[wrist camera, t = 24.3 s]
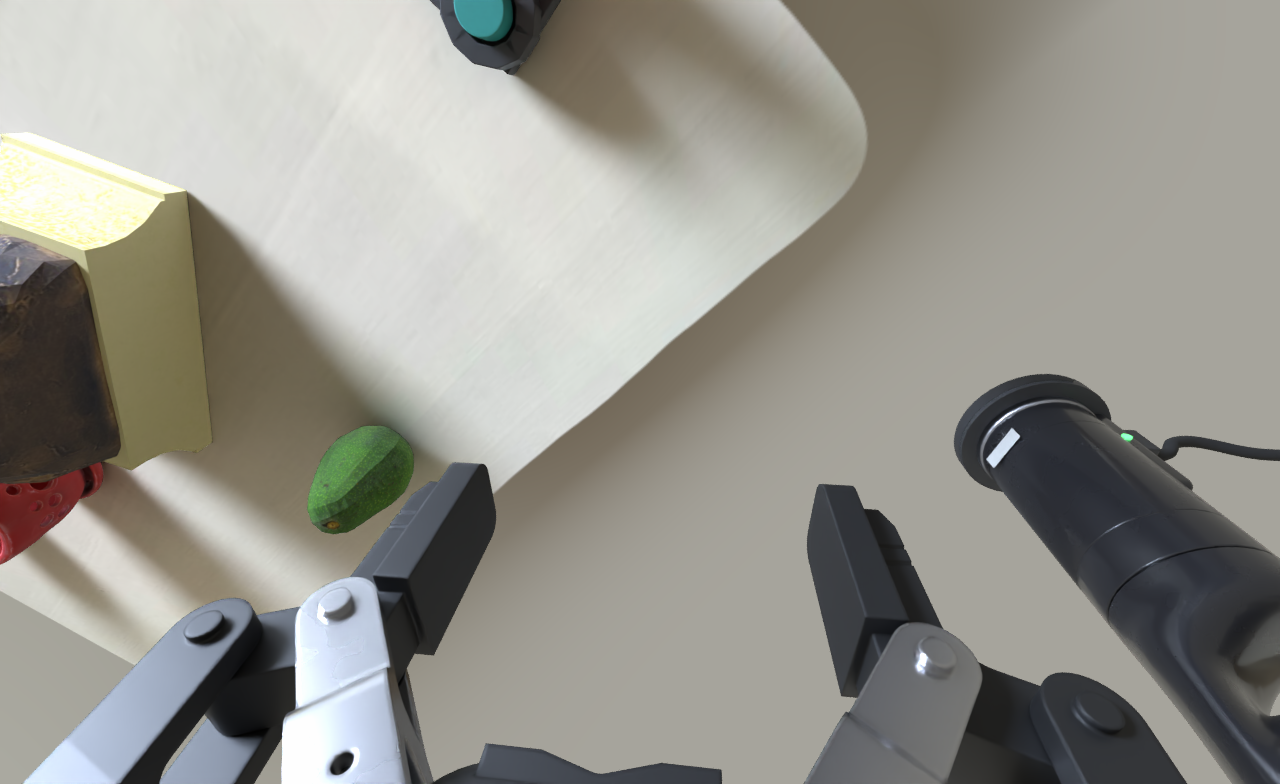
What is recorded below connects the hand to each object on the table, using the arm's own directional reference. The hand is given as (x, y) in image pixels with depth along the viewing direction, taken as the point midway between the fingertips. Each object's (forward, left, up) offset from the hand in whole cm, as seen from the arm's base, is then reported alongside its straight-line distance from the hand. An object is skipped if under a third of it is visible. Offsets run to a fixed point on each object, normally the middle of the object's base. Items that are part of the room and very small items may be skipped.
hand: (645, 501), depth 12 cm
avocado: (+30, +22, -32) cm, 49 cm away
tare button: (+13, -14, -29) cm, 35 cm away
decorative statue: (+53, +8, -32) cm, 63 cm away
